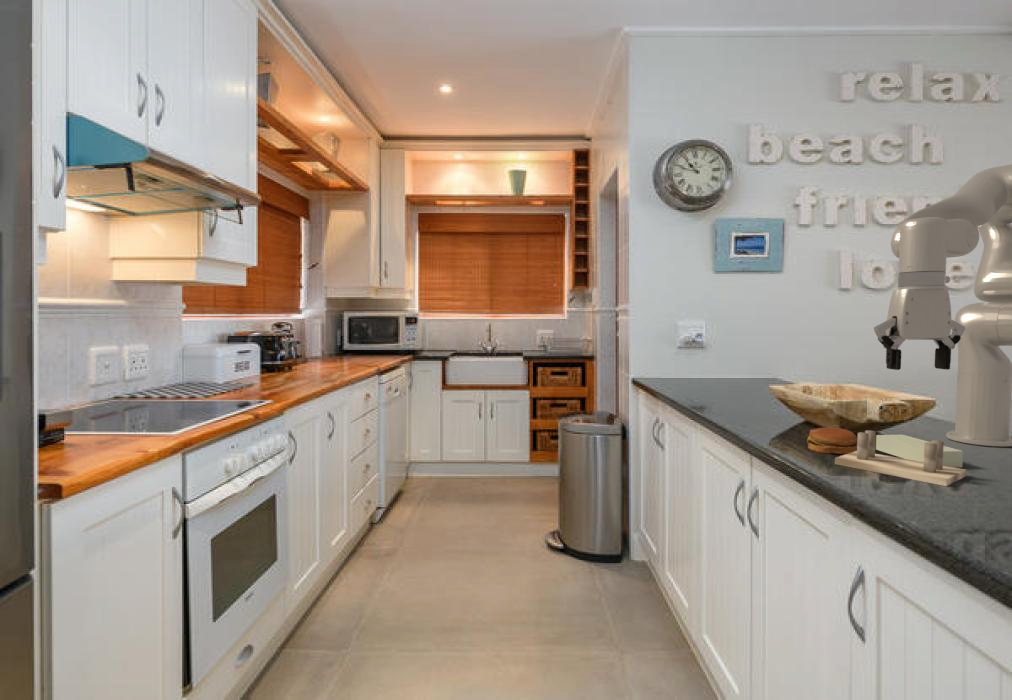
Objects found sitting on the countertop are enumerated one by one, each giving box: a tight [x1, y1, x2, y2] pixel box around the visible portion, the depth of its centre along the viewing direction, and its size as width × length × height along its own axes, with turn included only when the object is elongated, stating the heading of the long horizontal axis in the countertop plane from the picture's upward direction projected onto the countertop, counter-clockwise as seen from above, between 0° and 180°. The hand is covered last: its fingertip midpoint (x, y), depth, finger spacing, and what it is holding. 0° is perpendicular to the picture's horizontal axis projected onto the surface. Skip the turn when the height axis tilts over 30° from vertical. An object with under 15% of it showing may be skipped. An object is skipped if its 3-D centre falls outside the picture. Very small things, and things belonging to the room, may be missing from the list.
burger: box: [806, 427, 858, 455], centre depth 123 cm, size 10×9×5 cm
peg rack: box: [834, 429, 967, 487], centre depth 107 cm, size 10×18×6 cm, turn 36°
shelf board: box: [875, 434, 964, 468], centre depth 116 cm, size 6×15×4 cm, turn 4°
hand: (917, 369), depth 113 cm, fingers open, 9 cm apart
